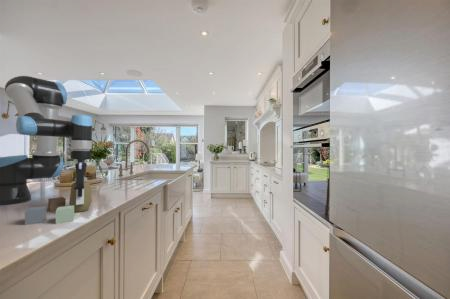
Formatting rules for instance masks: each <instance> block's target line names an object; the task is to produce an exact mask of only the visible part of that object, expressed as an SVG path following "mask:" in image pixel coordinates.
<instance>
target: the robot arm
mask: <svg viewBox="0 0 450 299" xmlns="http://www.w3.org/2000/svg"><path fill="white" fill-rule="evenodd" d="M4 91H5V93H6V95H7V97H8V98H10V99H11V100H12V102H13V105H14V107H15V109H16V111H17V114H18V117H17V119H16V123H15V128H16V132H17V134H19V135H23V136H24V135H25V136H31V137H32V136H34V137H35V136H36V145H35V146H36V148H35V149H36V150H35V151H34V152H33V153H32V156H31V157H29V156H28V155H27V154H20V155H9V156H1V157H0V206H1V205H2V206H4V205H5V206H6V205H12V204H20V203H24V202H28V201H31V200H32V194H31V192H30V190H29V188H28V185H27V183H28V182H27V181H28V180H36V179H38V180H39V179H52V178H58V177H59V176H60V175H61V173H62V172H63V169H64V166H65V164H64V159H63V158H64V157H61V156H60V153H59V152H57V147H58V146H57V145H58V138H66V139H70V141H71V142H69V144H68V145H69V146H70V149H71V151H70V159H71V160H77V162H76V163H75V164H74V165H75V174H76V178H77V179H76V187H75V188H74V189H76V205H79V204H84V177H86V173H87V168H88V167H87V166H88V164H87V162H85V160H91V159H92V157H93V156H92V155H93V154H92V153H93V152H92V148H93V140H92V137H93V118H92V117H91V116H90V115H86V114H72V115H71V118H70V120H64V119H61V120H60V119H59V111H60V109H62V107H63V106H64V105H66V104H67V100H68V93H67V90H66V88H65V86H64V85H63V84H61V83H58V82H55V81H52V80H47V79H43V78H38V77H34V76H29V75H19V76H15V77H12V78H10V79H9V80H7V81H6V83H5V85H4Z"/></svg>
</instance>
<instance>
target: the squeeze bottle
mask: <svg viewBox="0 0 450 299" xmlns="http://www.w3.org/2000/svg"><path fill="white" fill-rule="evenodd" d="M73 179H74V182H73V183H72V184H71V187H70V195H69V201H68V202H69V203H68V204H69V205H68V206H73V205H74V213H82V212H86V211H88V210H89V209H90V206H91V203H92V193H91V192H92V191H91V184H90V182H89V181H88V177H86V176H85V177H84V204H79V205H76V189H74V188H75V187H76V179H77V177H75V178H73Z"/></svg>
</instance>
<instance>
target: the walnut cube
mask: <svg viewBox="0 0 450 299" xmlns="http://www.w3.org/2000/svg"><path fill="white" fill-rule="evenodd" d="M47 199H48V200H47V201H48V202H47V210H48V211H49V212H50V211H51V213H53V211H54V212H56V209H57V208H58V207H63V206H66V203H67V202H66V198H65V197H63V196H59V197H52V198H47Z"/></svg>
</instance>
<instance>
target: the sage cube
mask: <svg viewBox="0 0 450 299" xmlns="http://www.w3.org/2000/svg"><path fill="white" fill-rule="evenodd" d="M74 220H75V212H74V205H73V206H70V205H67V206H66V205H65V206H63V207H58V208H57V209H56V211H55V225H58V223H59V224H64V223H65V224H67V223H72V222H74ZM66 222H67V223H66Z"/></svg>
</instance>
